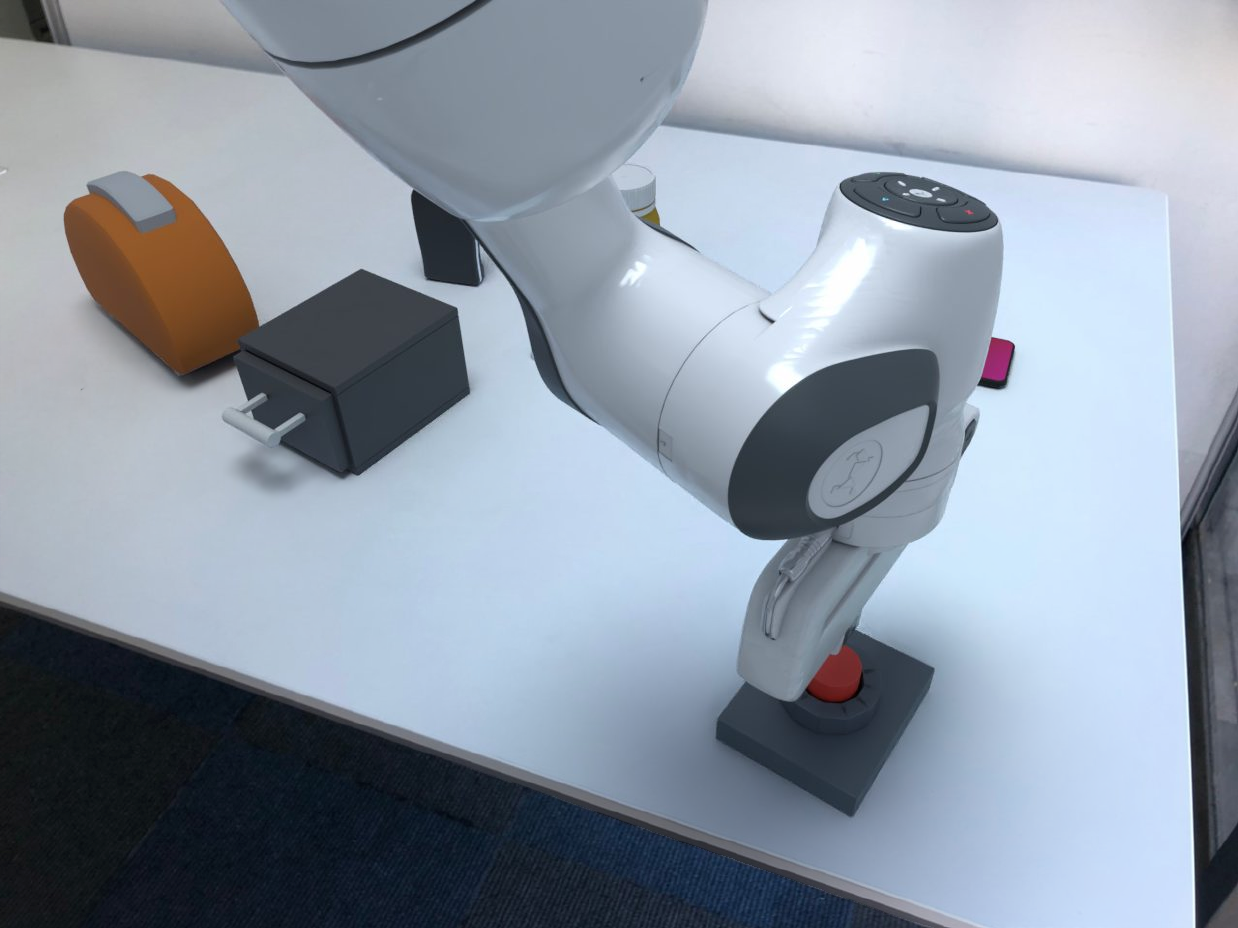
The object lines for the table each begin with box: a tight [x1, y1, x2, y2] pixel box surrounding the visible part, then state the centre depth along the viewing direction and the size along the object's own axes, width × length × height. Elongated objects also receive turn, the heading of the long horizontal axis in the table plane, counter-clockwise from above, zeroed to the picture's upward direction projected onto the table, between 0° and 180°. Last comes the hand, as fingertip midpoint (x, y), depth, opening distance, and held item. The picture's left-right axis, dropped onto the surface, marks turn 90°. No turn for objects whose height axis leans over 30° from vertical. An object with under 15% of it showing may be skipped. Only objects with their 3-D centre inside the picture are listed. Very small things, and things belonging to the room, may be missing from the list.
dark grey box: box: [237, 268, 471, 476], centre depth 92 cm, size 15×13×10 cm
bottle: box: [611, 162, 661, 226], centre depth 103 cm, size 7×7×15 cm
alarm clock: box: [63, 170, 261, 377], centre depth 101 cm, size 23×9×17 cm, turn 44°
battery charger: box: [410, 188, 485, 286], centre depth 110 cm, size 7×4×11 cm, turn 73°
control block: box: [715, 629, 936, 818], centre depth 67 cm, size 12×10×4 cm
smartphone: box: [978, 336, 1016, 388], centre depth 99 cm, size 8×1×15 cm
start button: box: [806, 645, 862, 703], centre depth 65 cm, size 4×4×2 cm
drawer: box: [221, 350, 351, 473], centre depth 90 cm, size 18×11×8 cm, turn 144°
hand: (834, 636), depth 63 cm, fingers closed
